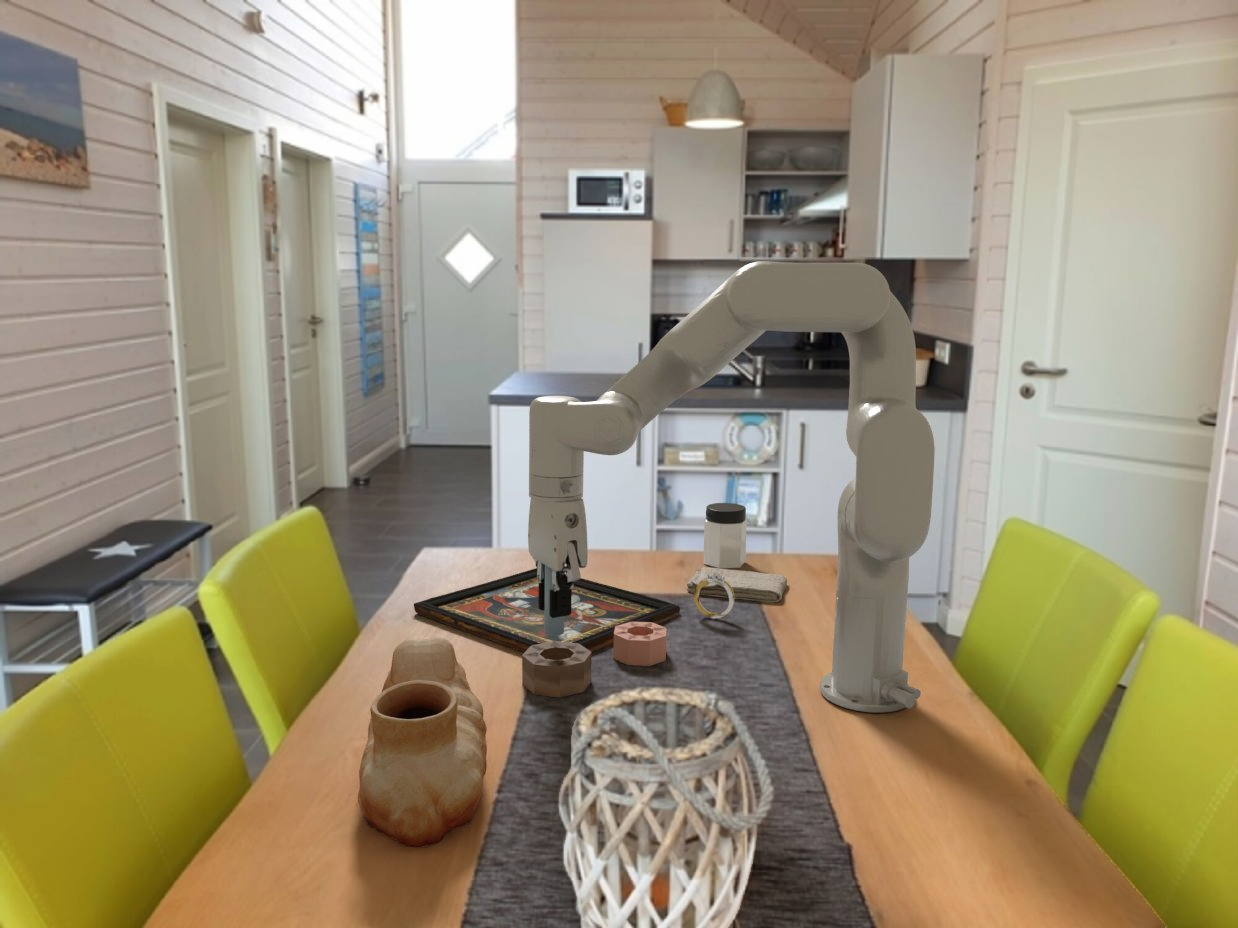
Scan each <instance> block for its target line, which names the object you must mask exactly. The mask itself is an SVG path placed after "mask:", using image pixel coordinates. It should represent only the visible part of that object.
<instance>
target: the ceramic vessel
mask: <svg viewBox="0 0 1238 928" xmlns="http://www.w3.org/2000/svg"><path fill="white" fill-rule="evenodd" d="M369 710H370V711H369V712H370V721H369V724H368V728H367V742H366V745H365V746H364V749H363V752H362V757H361V761H360V764H359V770H358V777H359V789H358V793H357V803H358V806H359V808H360V811H361V813H362V814H363V817H365V822H366V824H367V825H368V826H369V827H371V828H373V829H374V830H376V831H377V832H379V833H381V834H383V835H385V836H387V837H389V838H392V839H394V840H395V841H397V842H398V843H399V845H402V846H404V847H410V848H418V849H419V848H421V849H422V848H425V847H427V846H432V845H435V844H438V843H440V842H441V841H442V840H443V839H444V837H445V836H446V835H447V834H448V833H450V832H452V830H455V829H457V828H458V829H459V828H460V827H464V826H466V825H469V823H470V822H471V821H472V819H473V817H474V815H475V813H476V811H477V809H478V805H479V802H480V800H481V796H482V793H483V780H484V777H485V775H486V773H487V765H488V763H487V751H488V747H487V746H488V745H487V738H486V737H487V736H486V734H487V728H488V727H487V724H486V721H485V719H484V708H483V704H482V703H481V701H480V700H479V698H478V697H477V696H476V695H475V694H474V692H473V691H472V690H471V687H470V683H468V679H467V674H466V671H465V668H464V667H463V666H462V664H461V663H459V662H458V661H457V656H456V652H455V648H454V646H453V643H452V642H450V641H449V640H448V639H446V638H444V637H437V636H436V637H432V638H422V639H413V638H412V639H410V638H409V639H408V638H407V639H405V640H403V641H401V642H400V643H399V644H398V645H397V646H395V648H394V650H393V652H392V658H391V666H390V670H389V671H388V672H387V675H386V679H385V681H384V683H383V686H382V689H381V692H380V693H379V694H377V695H376V696H375V698H374V699H373V700H372V703H371V705H370V708H369Z"/></svg>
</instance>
